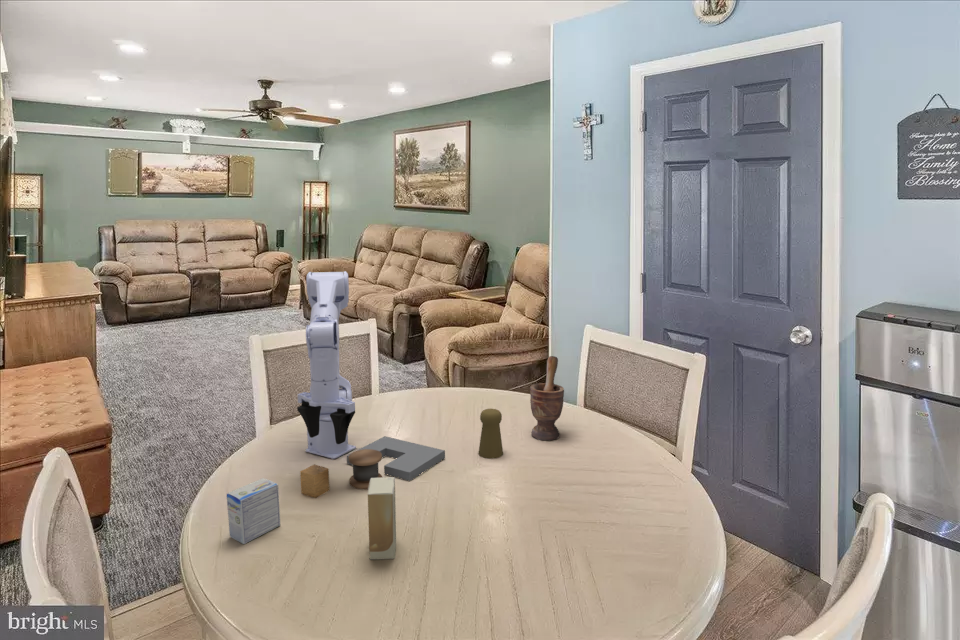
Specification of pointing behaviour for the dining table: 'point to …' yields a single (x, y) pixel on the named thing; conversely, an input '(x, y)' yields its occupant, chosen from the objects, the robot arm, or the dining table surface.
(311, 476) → the block
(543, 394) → the mortar and pestle
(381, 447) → the notched board
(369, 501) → the skincare box
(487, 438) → the olive pawn
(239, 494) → the medicine box
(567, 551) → the dining table surface
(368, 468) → the bobbin
